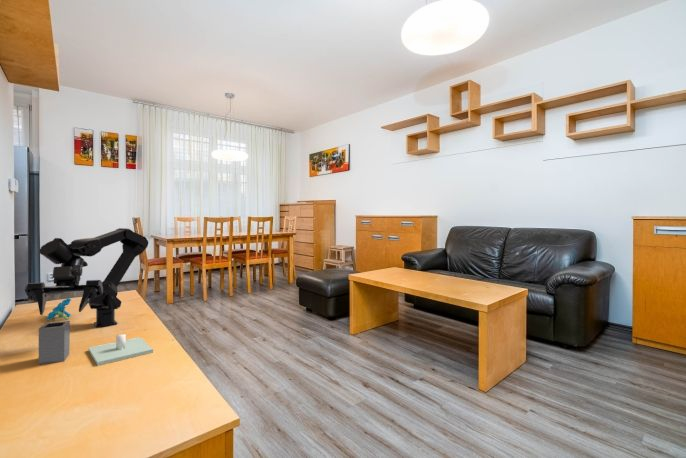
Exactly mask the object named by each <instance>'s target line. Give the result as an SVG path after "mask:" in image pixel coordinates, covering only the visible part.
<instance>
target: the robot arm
mask: <svg viewBox="0 0 686 458" xmlns="http://www.w3.org/2000/svg"><path fill="white" fill-rule="evenodd" d="M117 242H119V243H121V244H122V246H121V247H122V252H121V254H120V256H118V259H117V260H116V261H115V263H114V265H113V266H112V268H111V269H110V271H108V274H107V275H106V277H105V278H104V280H103V281H102V280H100V279H89V280H88V279H87V280H86V281H85V284H80V281H81V276H83V268H84V267H88V263H87V262H86V260H85V259H84V258H83V257H94V256H95V255H98V253H100V252H101V251H102V249H103V248H105V247H108V246H111V245H113V244H115V243H117ZM148 245H149V240H148V239H147V237H146V236H143V235H142V234H140V233H137V232H135V231H133V230H132V229H130V228H124V227H123V228H122V227H121V228H120V227H119V228H117V229H115V230H113V231H110V232H107V233H104V234H101V235H98V236H95V237H88V238H80V239H79V238H78V239H74V240H72V241H71V242H70V243H69V244H68V243H66V242H65V241H64V240H63V238H61V237H55V238H53V240H51V241H48V242H46V243H45V244H43V245H42V246H41V247H40V248H39V253H40V255H42V256H43V257H44V258H46V259H48V260H49V261H50V262H52V263H53V265H60V266H54V267H53V270H52V278H53V284H54V285H49V286H47V285H46V284H45V282H43V281H42V282H29V283H27V284H26V285H25V288H24V292H25V294H26V296H27V299H28V300H30V301H33V302H36V303H37V306H38V312H39V315H40V316H43V315H44V313H45V308H46V304H47V295H48V294H51V293H52V294H53V293H81V292H83V294H82V297H81V300H80V303H79V306H78V313H82V311H83V310H84V309H85V307H87V306H88V305H89V308H90V310H96V312H95V313H96V314H95V315H96V316H95V319H96V320H95V321H94V322H93V325H94V326H95V327H96V328H102V327H108V326H114V325H118V322H117V321H116V320H115V317H116V314H115V313H116V310H118V309H120V308H121V306H122V300H120V298H118V292H119V291H118V286H119V285H120V282H121V281H122V279H123V278H124V276H125V274H126V273H127V271H128V270H129V267H130V266H131V265H132V263H133V261H134V260H135V258H137V257H138V256H139V255H141V254H143V253H144V252H145V251H146V249H147V248H148V247H149V246H148Z"/></svg>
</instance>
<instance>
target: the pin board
mask: <svg viewBox="0 0 686 458" xmlns="http://www.w3.org/2000/svg"><path fill="white" fill-rule="evenodd" d="M115 336H116V337H115V339H116V341H115V342H109V343H104V344H100V345H93V346H90V347H88V353H89V354H90V356H91V357H92V359H93V360H94V363H95V365H97V366H99V367H100V366H102V365H107V364H111V363H115V362H119V361H123V360H127V359H130V358H136V357H140V356H143V355H148V354H152V353H154V349H153V347H151V345H149V343H148V342H146V341H145V340H144V339H143V338H142V337H141V336H138V337H134V338H133V337H132V338H129V339H127V338H126V334H124V333H122V334H117V335H115Z"/></svg>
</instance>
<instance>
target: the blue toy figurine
mask: <svg viewBox="0 0 686 458" xmlns="http://www.w3.org/2000/svg"><path fill="white" fill-rule="evenodd" d="M71 301H72V298H69V297H67V298H66V299H63V300H62V302H59V303H58V304H57V306H56V307H54V308H52V311H50V312H49V313H47V316H46V318H45V319H46V320H48V321H50V320H51V319H54V318H55V317H56V315H57V316H58V317H59V318H64V319H65V321H68V319H69V317H70V316H72V314H71V313H69V312H68V311H66V306H68V305H70V304H71Z"/></svg>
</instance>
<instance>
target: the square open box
mask: <svg viewBox="0 0 686 458" xmlns="http://www.w3.org/2000/svg"><path fill="white" fill-rule="evenodd" d="M70 325H71V322H70V320H65V321H56V322H55V321H53V322H45V323H44V324H43V325H41V327H39V328H38V365H39V364H40V365H47V364H54V363H60V362H61V363H62V362H65V361H66V360H67V358H68V357H69V356H70V332H71V331H70V328H71V327H70Z"/></svg>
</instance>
